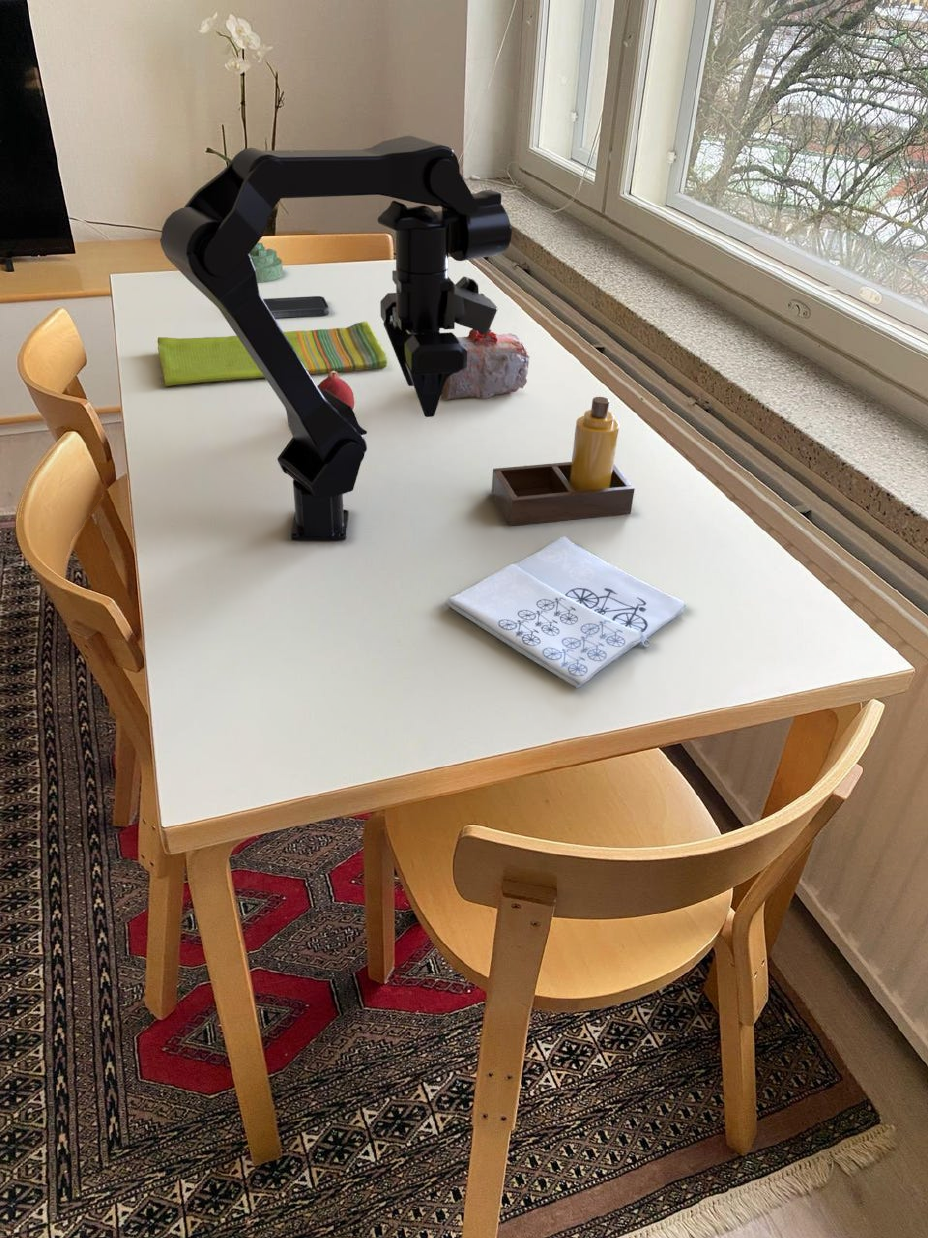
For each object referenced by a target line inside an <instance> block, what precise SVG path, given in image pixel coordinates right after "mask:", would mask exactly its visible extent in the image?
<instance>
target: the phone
mask: <svg viewBox="0 0 928 1238" xmlns="http://www.w3.org/2000/svg"><path fill="white" fill-rule="evenodd" d="M262 299H263V300H264V302H265V304H266V305H267V307H268V308H269V310H270V312H271V313H272V315H273V316H274V318H275V319H282V318H299V317H316V316H318V317H319V316H327V315H329V314H330V310H329V309H330V307H329V305H328V303H327V301H326V299H325V297H324V296H321V295H312V296H311V295H310V296H293V297H292V296H291V297H289V296H288V297H273V298H272V297H271V298H262Z"/></svg>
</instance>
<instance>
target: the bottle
mask: <svg viewBox="0 0 928 1238" xmlns="http://www.w3.org/2000/svg"><path fill="white" fill-rule="evenodd" d="M609 405H610V400H609V398H607V397H604V396H595V397H593V398H592V402H591V408H590V409H589V410H586V411H585V412H584V413H583V415H582V416H579V417H578V418H577V419H576V422H575V430H574V438H573V446H572V447H573V448H572V457H571V462H572V463H571V471H570V480H569V483H570V485H571V486H572V488H573V489H574V490H575V491H584V490H594V489H604V488H610V483H611V476H612V470H613V463H614V462H615V455H616V449H617V442H618V437H619V429H620V424H619V422H618V421H617V420H616V419H615V417H614V414H612V413H611V412H610V411H609ZM614 464H615V463H614Z"/></svg>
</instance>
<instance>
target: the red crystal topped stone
mask: <svg viewBox="0 0 928 1238" xmlns="http://www.w3.org/2000/svg"><path fill="white" fill-rule="evenodd" d="M457 338H458V339H459V340H460V341H461V343H462V344H463V345H464V347H465V348H466V350H467V367H466V368H465V369H463V370H461V371H460V372H458V373H453V374H452V375H451V376H449V377H448V378H447V380H446V382H445V385H444V387H443V390H442V393H441V396H442V397H443V398H444V400H446V401H447V400H453V399H462V398H470V397H477V398H478V399H483V400H486V399H488V398H491V397H492V398H493V396H495V395H501V394H508V393H516V392H518V390H519V389H523V388H524V387H525V386H526V384H527V383H528V379H527V377H528V376H527V375H528V372H529V365H530V364H529V363H530V357H531V356H530V355H529V352H528V351H527V348H526V347H525V345H524V343H523V342H521V339H520V338H519V337H518V335H516V334H514V333H511V332H509V333H502V334H497V333H495V332H493V331H492V329H491V328H490V329H489V332H488V334H481V333H479V332H478V330H475V329H472V328H471V329H470V330H469V332H468V335H467V336H457Z"/></svg>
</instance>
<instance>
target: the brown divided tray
mask: <svg viewBox="0 0 928 1238" xmlns="http://www.w3.org/2000/svg"><path fill="white" fill-rule="evenodd" d="M571 463H572V461H565V462H553V463H542V464H533V465H520V466H508V467H497V468H496V467H495V468H493V469H492V475H491V476H492V477H491V491H490V493H491V496H492V497H493V499H494V501H495V502H496V504H497V506H498V507H499V509H500V511H501V513H502V515H503V516H504V517H505V519H506V521H507V523H508V524H509V527H515V526H525V525H535V524H541V523H542V524H545V523H553V522H564V521H573V520H582V519H593V518H602V517H612V516H621V515H630V514H631V513H632V507H633V502H634V495H635V490H636V488H635V487H634V485H632V483H630V481H629V480H628V479H627V478H626V477H625V475H624V474H623V472H621V471H620V469H619V468H618V467H617V466H616V465H615V463H613V470H612V476H611V483H610V488H604V489H594V490H584V491H575V490H574V489H573V488H572V486H571V485H570V483H569V480H570V471H571Z"/></svg>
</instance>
